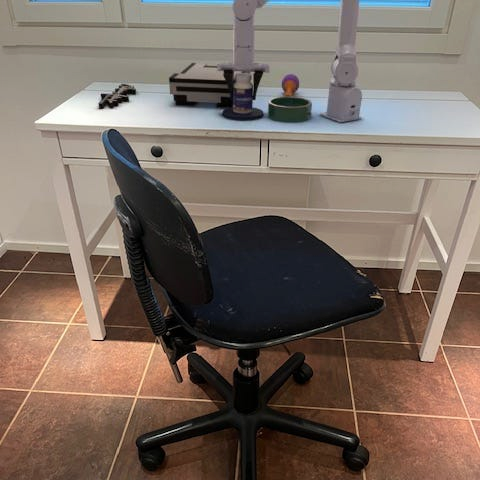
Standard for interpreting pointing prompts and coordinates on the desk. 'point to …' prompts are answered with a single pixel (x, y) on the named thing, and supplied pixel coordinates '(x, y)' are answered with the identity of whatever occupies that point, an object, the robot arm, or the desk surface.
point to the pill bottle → (242, 93)
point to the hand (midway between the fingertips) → (243, 99)
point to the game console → (201, 86)
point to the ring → (289, 109)
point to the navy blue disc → (253, 115)
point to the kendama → (290, 84)
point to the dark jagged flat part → (117, 96)
